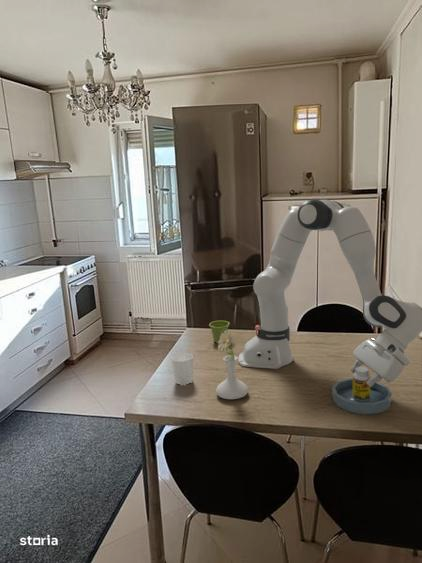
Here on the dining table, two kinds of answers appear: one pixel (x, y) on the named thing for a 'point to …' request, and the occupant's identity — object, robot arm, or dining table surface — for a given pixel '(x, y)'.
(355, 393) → the supplement bottle
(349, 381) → the slate dish
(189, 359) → the white cup
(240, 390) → the flower in vase
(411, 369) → the dining table surface
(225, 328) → the plant pot
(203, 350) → the dining table surface
